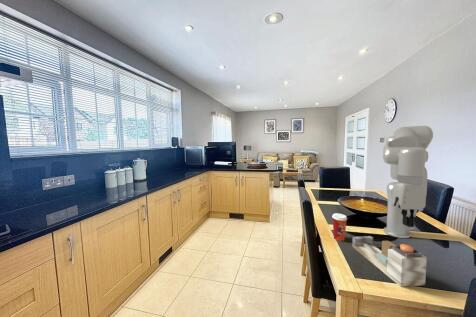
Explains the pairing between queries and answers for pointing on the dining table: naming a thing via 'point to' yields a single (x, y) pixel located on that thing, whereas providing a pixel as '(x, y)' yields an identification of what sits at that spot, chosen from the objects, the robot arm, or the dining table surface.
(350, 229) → the dining table surface
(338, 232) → the paper cup
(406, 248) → the button
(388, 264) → the track
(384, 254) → the carriage
